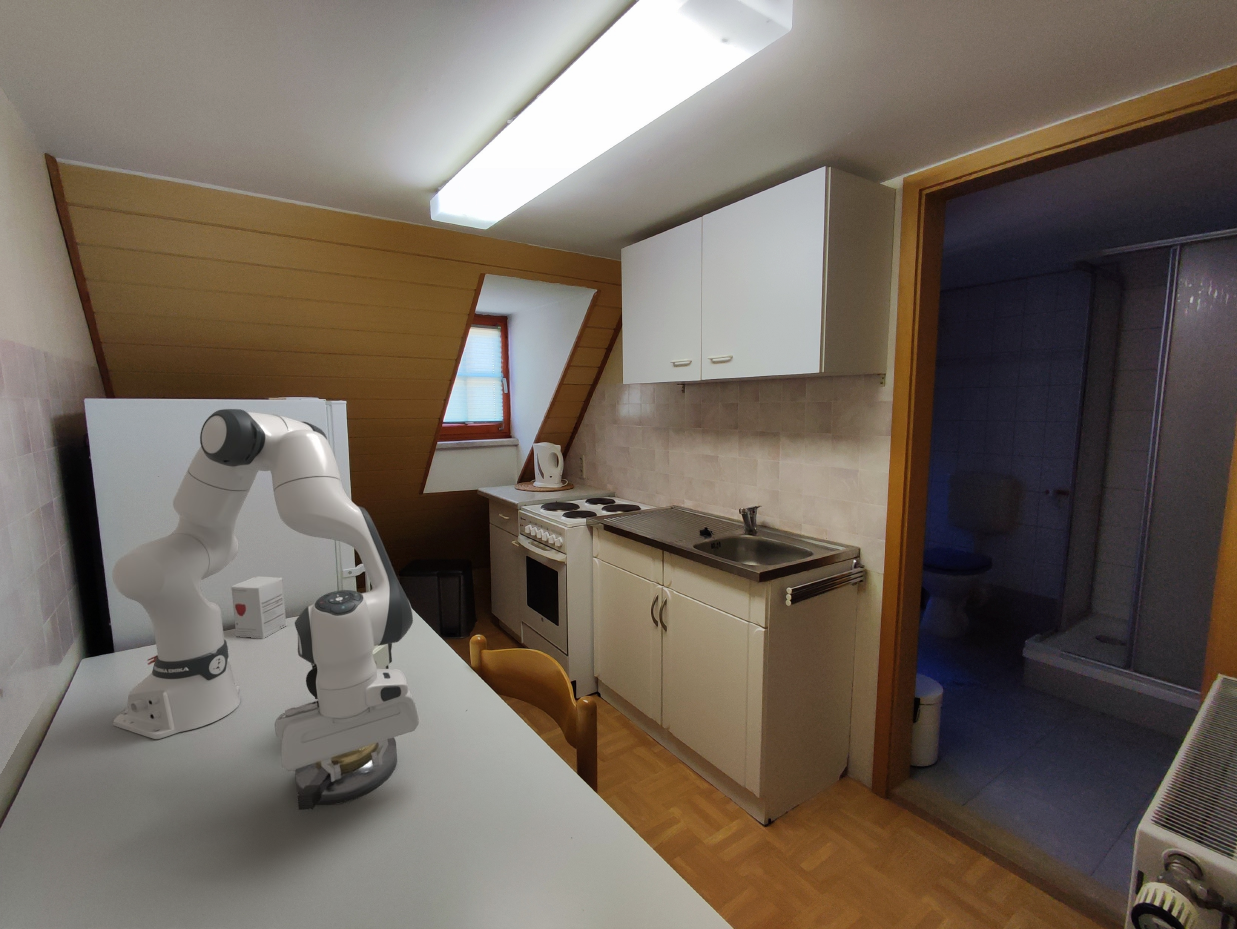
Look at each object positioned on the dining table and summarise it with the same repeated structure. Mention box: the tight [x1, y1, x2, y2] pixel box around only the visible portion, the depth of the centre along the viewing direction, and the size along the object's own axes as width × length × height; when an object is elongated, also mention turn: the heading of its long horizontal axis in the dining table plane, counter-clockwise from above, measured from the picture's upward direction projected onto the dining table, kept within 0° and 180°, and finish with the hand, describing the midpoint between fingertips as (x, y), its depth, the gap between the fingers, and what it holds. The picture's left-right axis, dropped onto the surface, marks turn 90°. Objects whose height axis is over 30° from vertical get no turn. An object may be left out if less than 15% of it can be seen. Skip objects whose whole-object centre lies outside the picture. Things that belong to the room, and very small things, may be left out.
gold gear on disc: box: [294, 737, 398, 806], centre depth 97 cm, size 16×16×10 cm
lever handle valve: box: [296, 743, 378, 811], centre depth 92 cm, size 18×10×4 cm, turn 1°
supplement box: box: [230, 576, 287, 640], centre depth 156 cm, size 9×9×15 cm
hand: (356, 771), depth 90 cm, fingers open, 5 cm apart
